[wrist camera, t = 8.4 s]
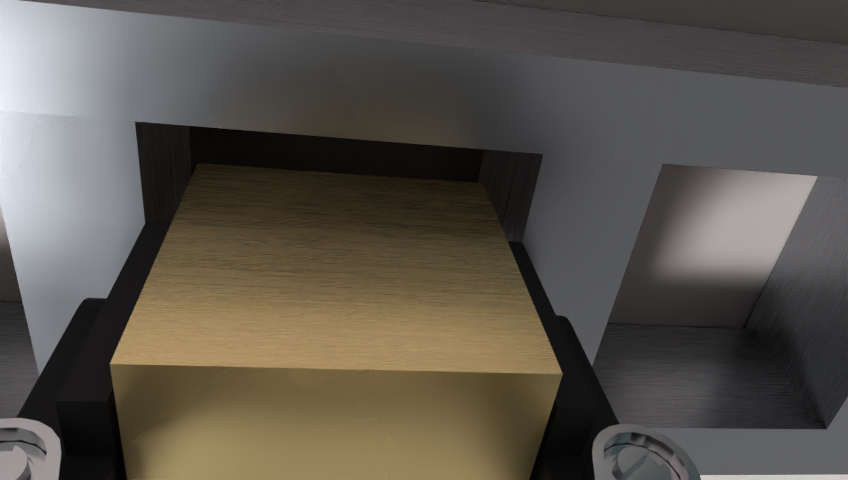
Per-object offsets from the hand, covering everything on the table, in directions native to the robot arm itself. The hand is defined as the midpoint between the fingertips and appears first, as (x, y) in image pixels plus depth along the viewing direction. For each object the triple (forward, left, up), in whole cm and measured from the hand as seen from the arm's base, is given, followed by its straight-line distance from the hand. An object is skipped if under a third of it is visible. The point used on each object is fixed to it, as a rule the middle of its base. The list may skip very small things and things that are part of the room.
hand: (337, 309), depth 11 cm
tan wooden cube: (0, 0, -1) cm, 1 cm away
